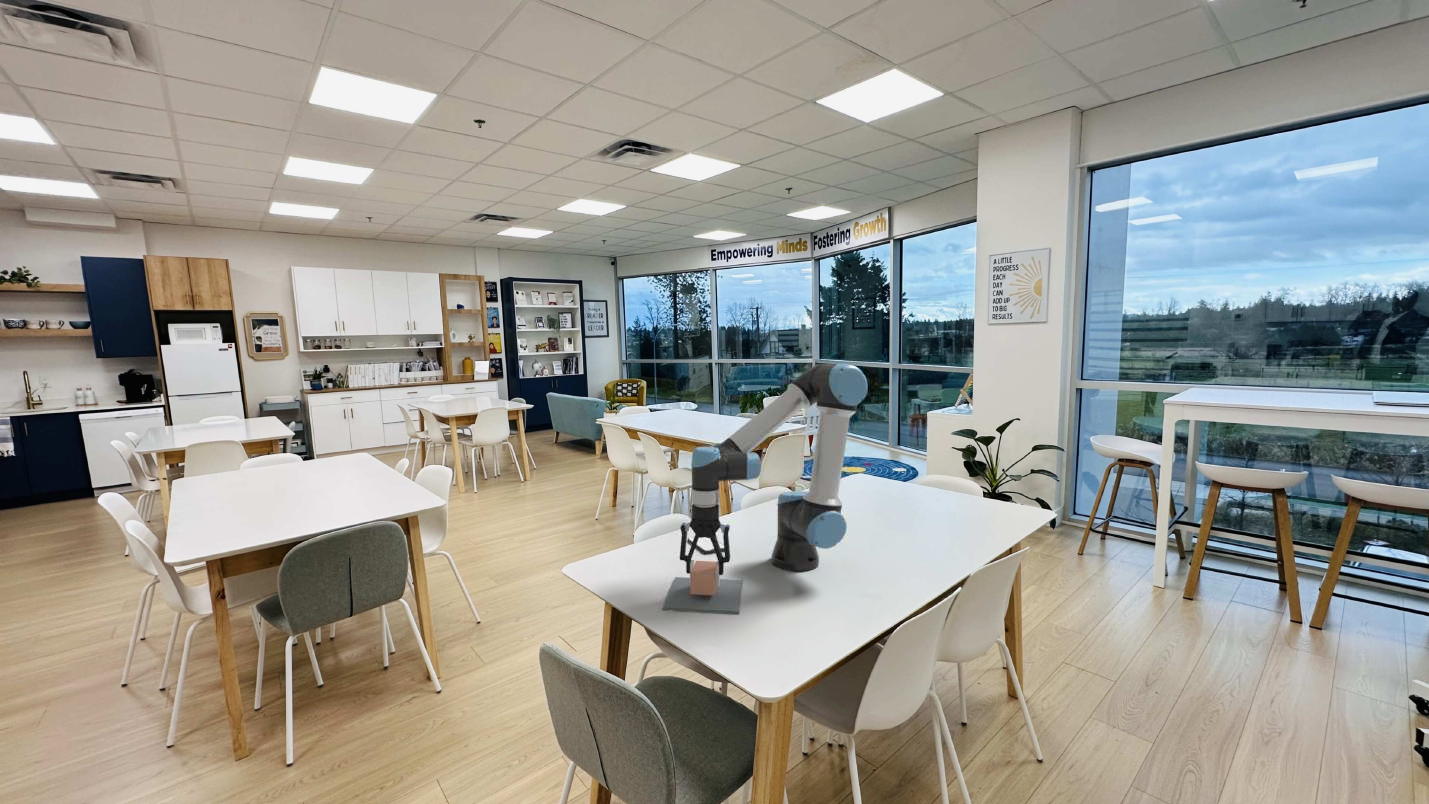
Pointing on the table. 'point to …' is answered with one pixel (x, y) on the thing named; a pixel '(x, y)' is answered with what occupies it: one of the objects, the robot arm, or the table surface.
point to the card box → (703, 578)
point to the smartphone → (705, 545)
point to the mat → (704, 597)
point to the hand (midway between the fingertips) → (704, 585)
